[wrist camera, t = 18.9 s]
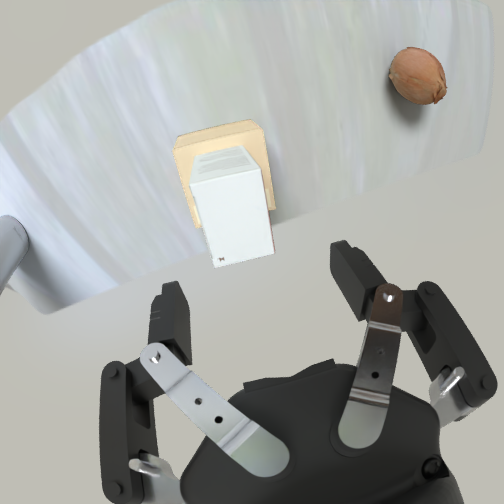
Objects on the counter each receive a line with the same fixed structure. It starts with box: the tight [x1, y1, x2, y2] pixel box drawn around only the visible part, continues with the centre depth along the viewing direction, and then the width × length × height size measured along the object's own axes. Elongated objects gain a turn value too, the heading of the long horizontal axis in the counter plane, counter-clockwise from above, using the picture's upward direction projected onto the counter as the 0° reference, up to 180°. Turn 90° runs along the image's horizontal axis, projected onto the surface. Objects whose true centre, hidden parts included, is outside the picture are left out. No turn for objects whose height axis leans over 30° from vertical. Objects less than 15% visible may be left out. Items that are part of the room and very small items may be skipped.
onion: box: [388, 47, 447, 105], centre depth 27 cm, size 10×9×10 cm
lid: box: [172, 128, 276, 228], centre depth 30 cm, size 10×10×1 cm
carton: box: [173, 119, 261, 149], centre depth 34 cm, size 10×10×7 cm
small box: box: [189, 145, 275, 268], centre depth 25 cm, size 8×6×10 cm
